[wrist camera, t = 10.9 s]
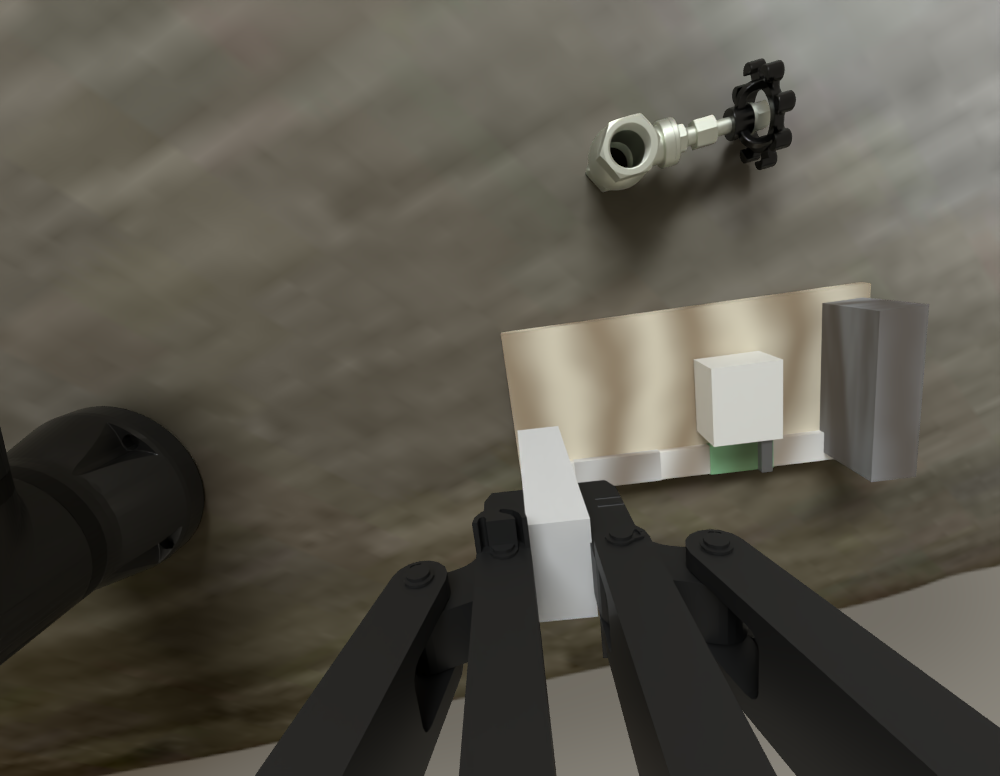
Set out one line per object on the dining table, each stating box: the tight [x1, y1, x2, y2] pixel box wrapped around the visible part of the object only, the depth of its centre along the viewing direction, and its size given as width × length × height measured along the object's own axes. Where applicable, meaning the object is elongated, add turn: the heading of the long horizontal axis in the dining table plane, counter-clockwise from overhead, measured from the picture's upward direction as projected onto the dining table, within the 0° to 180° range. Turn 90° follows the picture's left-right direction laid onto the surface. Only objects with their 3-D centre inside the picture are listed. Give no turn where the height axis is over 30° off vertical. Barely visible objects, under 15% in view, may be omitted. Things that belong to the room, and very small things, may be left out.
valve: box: [585, 58, 796, 193], centre depth 32 cm, size 7×7×12 cm
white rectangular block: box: [694, 351, 783, 473], centre depth 37 cm, size 5×9×4 cm, turn 8°
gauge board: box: [501, 282, 929, 486], centre depth 37 cm, size 28×14×7 cm, turn 98°
